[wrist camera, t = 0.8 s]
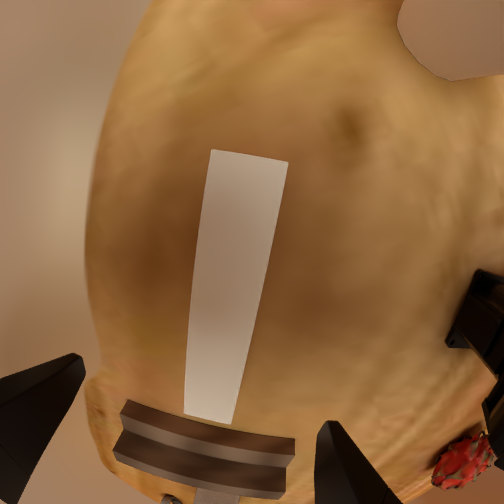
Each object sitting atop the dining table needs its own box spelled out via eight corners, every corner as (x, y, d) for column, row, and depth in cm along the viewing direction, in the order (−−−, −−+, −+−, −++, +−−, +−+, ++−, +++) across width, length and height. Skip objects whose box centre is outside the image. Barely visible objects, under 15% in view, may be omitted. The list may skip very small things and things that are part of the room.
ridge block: (294, 438, 20) (295, 482, 16) (273, 471, 23) (271, 506, 18) (128, 399, 21) (106, 436, 16) (136, 439, 23) (121, 470, 18)
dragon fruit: (485, 406, 21) (428, 450, 26) (473, 436, 16) (404, 479, 21) (510, 440, 15) (451, 480, 20) (501, 474, 10) (430, 512, 15)
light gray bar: (285, 164, 14) (288, 162, 10) (238, 385, 19) (230, 424, 15) (228, 154, 14) (211, 149, 11) (197, 376, 19) (183, 413, 15)
